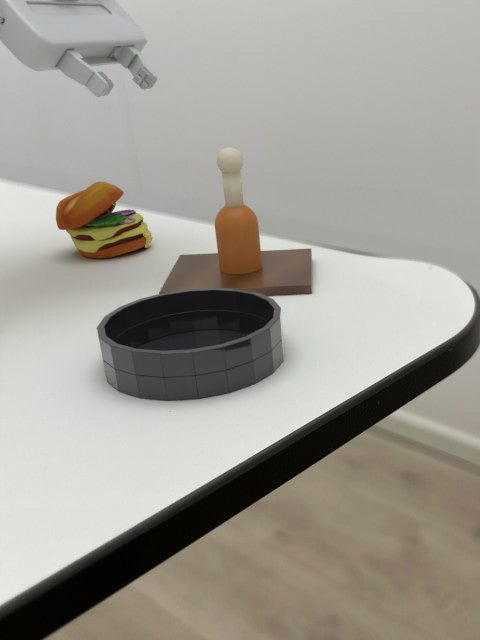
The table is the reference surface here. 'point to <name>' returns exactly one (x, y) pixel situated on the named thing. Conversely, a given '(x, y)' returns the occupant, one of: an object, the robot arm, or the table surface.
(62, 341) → the table surface
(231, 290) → the pan
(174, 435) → the table surface
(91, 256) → the cheeseburger
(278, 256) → the board
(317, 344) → the table surface
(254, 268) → the drumstick
